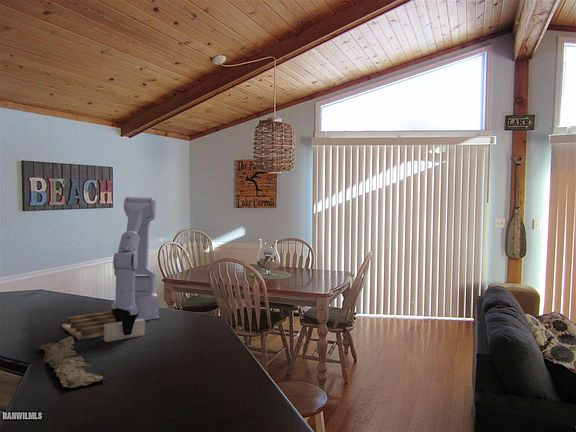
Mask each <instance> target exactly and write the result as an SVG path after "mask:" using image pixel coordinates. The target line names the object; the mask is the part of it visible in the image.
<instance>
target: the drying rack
mask: <svg viewBox="0 0 576 432" xmlns="http://www.w3.org/2000/svg"><path fill="white" fill-rule="evenodd" d="M109 323H116V320H115V317H114V315H113V313H112V310H111V311H104V312H97V313H89V314H84V315H77V316H69V317H65V323H62V324H61V325H62V328H63V329H64V330H65V331H67V332H68V333H69V334H70V335H71V336H72V337H73V338H76V339H77V340H78V341H82V340H87V339H92V338H98V337H104V324H109Z"/></svg>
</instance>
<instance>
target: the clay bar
mask: <svg viewBox="0 0 576 432" xmlns="http://www.w3.org/2000/svg"><path fill="white" fill-rule="evenodd" d="M145 326H146V320H144V319H142V318H141V319H136V320H135V322H134V325H133V329H132V333H131V334H130V335H124V334H123V327H122V322H116V323H109V324H104V336H103V341H104V342H106V343H108V342H114V341H119V340H125V339H130V338H135V337H141V336H145V334H146V333H145V332H146V331H145V328H146V327H145Z"/></svg>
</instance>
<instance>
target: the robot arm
mask: <svg viewBox="0 0 576 432" xmlns="http://www.w3.org/2000/svg"><path fill="white" fill-rule="evenodd" d="M156 207H157V205H156V199H155V198H154V197H153V196H151V197H144V196H142V197H141V196H140V197H137V196H126V197H125V198H124V201H123V211H124V213H125V216H126V217H127V224H126V230H125V232H123V233H122V234H121V238H120V240H119V241H120V242H119V245H118V249H117V252H115V253H114V255H113V258H112V259H113V260H112V261H113V262H112V268H113V274H114V275H113V276H115V297H114V298H115V299H113V300H112V304H111V305H110V306H111V308H112V309H111V311H112V313H113V315H114V317H115V320H116V322H122V327H123V334H124V335H130V334H131V333H132V329H133V325H134V322H135V320H136V319H141V318H142V319H144V320H145V321H149V320H155V319H159V318H160V316H159V305H160V304H159V303H160V301H159V297H158V293H156V288H157V279H156V271H155V270H153V269H152V268H151V267H149V235H150V232H149V231H150V224H151V221H155V218H156Z"/></svg>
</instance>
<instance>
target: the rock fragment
mask: <svg viewBox="0 0 576 432" xmlns="http://www.w3.org/2000/svg"><path fill="white" fill-rule="evenodd" d="M74 344H75V339H74V336H73V335H69V336H67V337H65V338H63V339H61V340H59V341H58V342H56V343H55V342H48V343H46V344H44V345H43V344H42V345H41V346H38V349H39V348H40V349H41V350H44V356H43V359H42V361H43V362H44V364H47V363H48V365H49V366H48V367H49V368H53V372H54V373H56V376H55V377H57V378H58V379H59V380H60V384H61V386H62V387H63V388H71V389H72V388H77V387H80V386H88V385H92V384H93V383H95V382H100V381H102V380H105V379H107V377H104V376H103V375H101V374H99V373H97V374H96V373H92V372H91V373H90V372H88V373H87V371H85V370H89V369H91V370H92V364H89V360H87V361H86V362H85V359H84V357H83V355H81V354H78V353H77V351H76V350H75V348H74V346H73V345H74Z"/></svg>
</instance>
